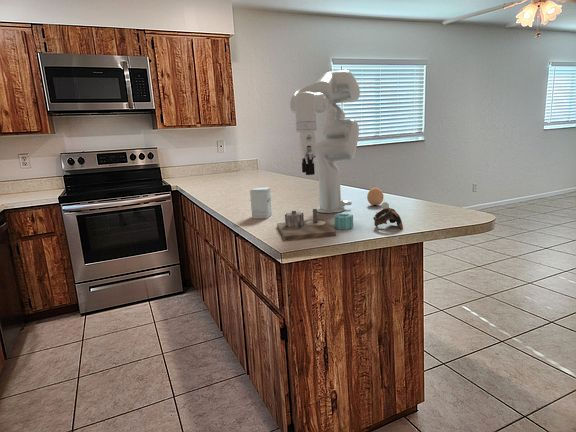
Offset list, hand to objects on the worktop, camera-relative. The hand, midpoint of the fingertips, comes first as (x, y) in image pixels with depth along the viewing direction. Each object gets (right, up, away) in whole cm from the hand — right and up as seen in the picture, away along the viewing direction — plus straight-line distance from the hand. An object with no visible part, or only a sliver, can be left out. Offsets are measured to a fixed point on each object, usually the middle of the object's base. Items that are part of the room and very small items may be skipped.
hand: (308, 173), depth 149 cm
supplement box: (-19, -17, +25) cm, 35 cm away
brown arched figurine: (+29, -20, -5) cm, 36 cm away
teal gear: (+13, -20, -2) cm, 24 cm away
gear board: (-1, -22, -4) cm, 22 cm away
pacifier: (+32, -17, +10) cm, 37 cm away
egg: (+33, -11, +34) cm, 49 cm away
